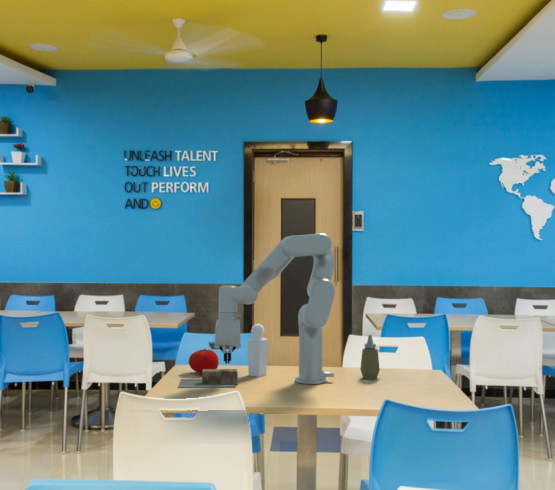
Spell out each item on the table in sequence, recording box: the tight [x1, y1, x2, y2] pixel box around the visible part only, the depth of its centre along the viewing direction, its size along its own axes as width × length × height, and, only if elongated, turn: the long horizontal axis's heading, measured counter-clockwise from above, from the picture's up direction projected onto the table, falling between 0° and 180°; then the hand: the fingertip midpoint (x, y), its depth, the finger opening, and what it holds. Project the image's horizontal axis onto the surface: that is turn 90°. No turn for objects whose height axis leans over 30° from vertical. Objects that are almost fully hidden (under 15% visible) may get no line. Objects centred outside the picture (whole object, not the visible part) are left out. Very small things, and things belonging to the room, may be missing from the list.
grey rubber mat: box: [177, 378, 236, 389], centre depth 231 cm, size 22×14×1 cm, turn 94°
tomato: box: [188, 348, 220, 374], centre depth 253 cm, size 13×12×11 cm
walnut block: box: [201, 368, 239, 385], centre depth 231 cm, size 5×5×14 cm
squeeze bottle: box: [360, 334, 381, 380], centre depth 245 cm, size 8×8×18 cm
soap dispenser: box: [247, 323, 269, 378], centre depth 250 cm, size 6×6×22 cm
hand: (227, 362), depth 232 cm, fingers closed
